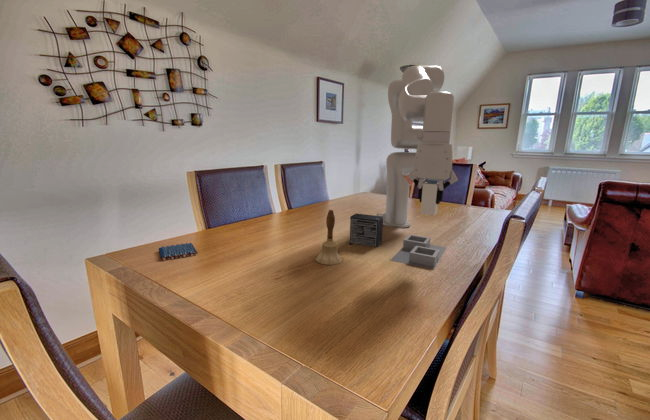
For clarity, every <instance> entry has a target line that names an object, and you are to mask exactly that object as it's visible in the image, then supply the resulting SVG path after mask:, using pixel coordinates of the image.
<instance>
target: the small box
mask: <svg viewBox="0 0 650 420" xmlns="http://www.w3.org/2000/svg"><path fill="white" fill-rule="evenodd" d="M349 218H350V219H349V220H350V225H349V243H348V245H350V246H353V245H354V244H355V245H363V246H368V247H374V248H378V247H379V246H380V245H382V242H383V228H384V227H383V226H384V225H383V216H376V215H372V214H364V213H354V214H353V215H351V216H350V217H349Z"/></svg>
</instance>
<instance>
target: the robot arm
mask: <svg viewBox="0 0 650 420" xmlns="http://www.w3.org/2000/svg"><path fill="white" fill-rule="evenodd" d="M444 83H445V72H444V69H443V68H442V67H441V66H440V65H439V66H438V65H420V64H418V65H411V66H409V67H407V68H406V69H405V70H404V71H403V73H402V75H401V79H400V78H399V79H395V80H392V81H391V82H390V83H389V84H388V88H387V99H388V104H389V108H390V109H389V110H390V114H391V125H390V126H391V127H390V144H391V146H392V147H393V148H394V149H401V150H415V151H416V152H413V151H412V152H409V151H407V152H406V151H396V152H391V153H390V154H388V156H387V158H386V161H385V163H386V176H387V177H386V178H387V179H386V181H387V183H386V195H385V196H386V198H385V211H384V213H382V212H377V213H376V215H375V216H383V226H384V227H388V228H389V227H390V228H396V229H404V228H405V229H406V228H409V227H410V226H411V222H410V221H409V220H408V212H409V211H408V210H409V197H410V183H409V181H408V180H407V178H408V179H409V180H410V181H412V182H413V183H414V184H415V185H416V187H417V188H418V194H417V199H419V203H421V200H422V189H423V183H425V182H426V181H427V180H438V184H439V188H438V191H437V197H436V204H438V205H439V204H441V202H443V197H444V190H445V189H446V188H447V187H449V186H450V185H453V184H454V183H456V182H458V181H459V179H458V177H457V175H456V173H455V172H454V170H453V145H452V143H451V144H450V141H451V132H452V131H451V130H452V121H453V120H452V119H453V112H454V103H455V97H454V94H453V93H452V92H448V91H441V89H442V88H443V85H444ZM413 122H417V123H418V122H422V125H413ZM405 176H407V178H406V177H405ZM446 180H447V181H446Z"/></svg>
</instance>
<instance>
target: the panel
mask: <svg viewBox="0 0 650 420" xmlns="http://www.w3.org/2000/svg"><path fill="white" fill-rule="evenodd" d="M431 239H432V237H428V236H423V235H422V236H421V235H415V234H410V233H409V234H408V235H407V236H406V237H404V239H403V242H402V243H403V244H402V247H401V248H400V250H398V251H397V253H395V255H394V256H393V257H392V258H391V259H390V262H391V261H392V262H396V263H400V264H406V265H409V266H410V265H411V266H416V267H420V268H424V269H425V268H426V269H429V270H435V269H436V267H437V264H438V263H439V261H440V260H441V258H442V257H443V254H444V253H445V251H446V250H447V247H446V246H441V245H435V244H431Z"/></svg>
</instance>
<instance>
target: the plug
mask: <svg viewBox="0 0 650 420" xmlns="http://www.w3.org/2000/svg"><path fill="white" fill-rule="evenodd" d="M438 188H439V184H438V180H432V179H426V181H425V183H423V189H422V200H421V202H420V203H421V204H420V214H421V215H427V216H435V215H437V214H438V206H439V204H436V197H437V191H438Z"/></svg>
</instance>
